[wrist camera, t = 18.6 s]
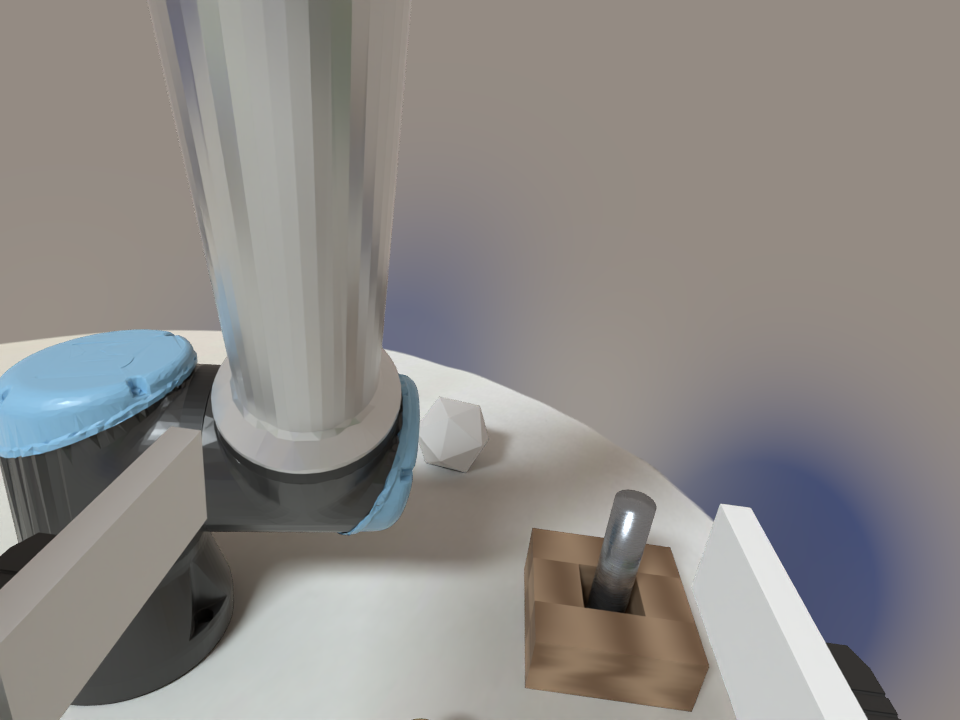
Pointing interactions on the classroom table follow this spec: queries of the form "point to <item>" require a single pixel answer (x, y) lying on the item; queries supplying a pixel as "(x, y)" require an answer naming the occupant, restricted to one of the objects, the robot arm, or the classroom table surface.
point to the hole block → (609, 627)
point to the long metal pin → (621, 551)
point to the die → (452, 434)
